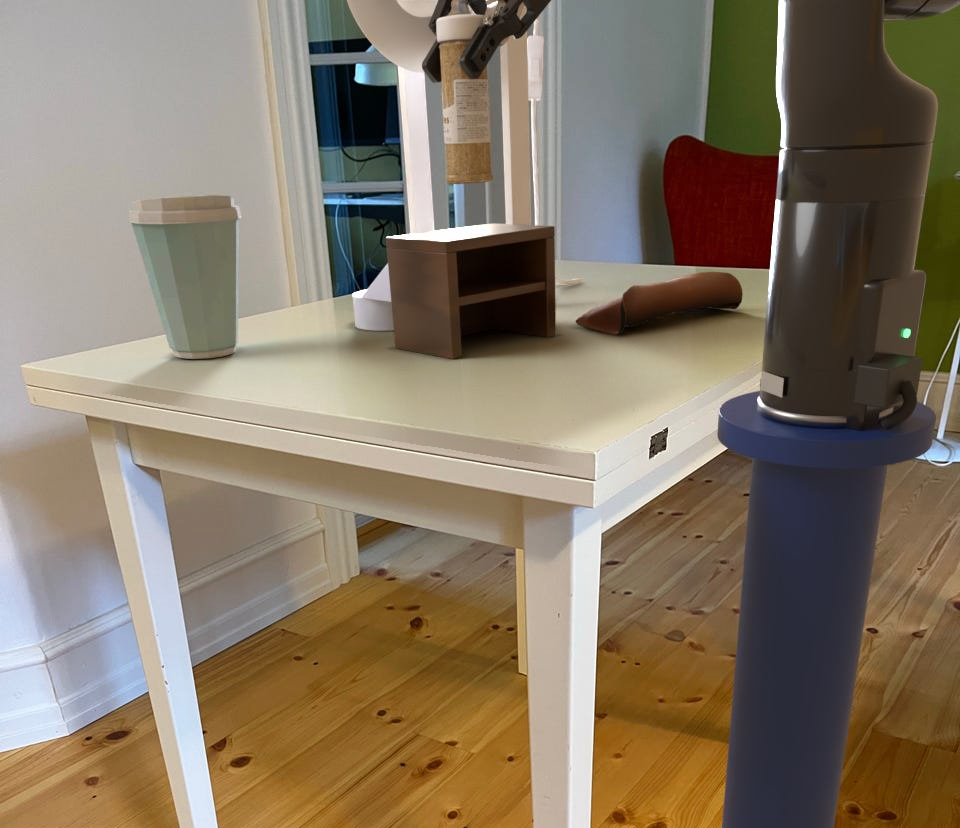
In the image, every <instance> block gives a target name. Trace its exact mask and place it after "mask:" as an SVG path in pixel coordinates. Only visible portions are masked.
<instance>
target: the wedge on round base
mask: <svg viewBox="0 0 960 828" xmlns="http://www.w3.org/2000/svg"><path fill="white" fill-rule="evenodd" d="M352 305H353V315H354V326H355V328H357V329H359V330H365V331H377V332H382V331H384V332H385V331H387V332H388V331H394V328H393V316H392V305H391V293H390V281H389V269H388V262H387V263H386V265H384V266H383V268H382V270H381V271H380V272H379V273H378V275H377V276H376V277H375V278H374V280H373V281H372V282H371V284H370V285H369V286H368V287H367V289H361V290H359V291H355V292H353V293H352Z"/></svg>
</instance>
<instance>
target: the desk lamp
mask: <svg viewBox="0 0 960 828" xmlns="http://www.w3.org/2000/svg"><path fill="white" fill-rule="evenodd" d="M346 2H347V5H348V7H349V11H350V12H351V15H352V17H353V19H354V20H355V22H356V24H357V25H358V28H359V29H360V30H361V32H362V34H363V35H364V36H365V38H366V39H367V40H368V41H369V43H370V44H371V45H372V46H373V47H374V48H375V49H376V50H377V51H378V52H379V53H380V54H381V55H382V56H383V57H385V59H387V60H388V61H390V62H391V63H392V64H394V65H396V66H397V74H398V75H397V76H398V87H399V89H398V90H399V101H400V103H399V104H400V113H401V114H400V115H401V128H402V129H401V130H402V140H403V141H402V142H403V143H402V144H403V154H404V168H405V180H406V181H405V182H406V195H407V208H408V209H407V210H408V221H409V222H408V223H409V234H415V233H423V232H431V231H436V230H435V217H434V215H435V214H434V201H433V199H434V198H433V186H432V185H433V184H432V171H431V154H430V153H431V152H430V138H429V124H428V123H429V121H428V109H427V107H428V106H427V93H426V91H427V90H426V78H425V77H426V73H425V72H424V71H423V69H422V62H423V61H424V59H425V57H426V56H427V54H428V52H429V51H430V49H431V47H432V46H433V44H434V42H435V41H436V39H437V38H436V36H435V35H434V33H433V32H432V31H431V29H430V28H429V26H428V25H429V22H430V20H431V17H432V15H433V12H434V10H435V7H436V5H437V2H438V0H346ZM468 7H469V10H468V11H469V12H470V14H475V13H474V12H473V10H472V9H471V7H470V6H469V4H468ZM526 12H527V8H526V6H524V7H523V10H522V13H521V16H520V20H521V19H522V18H523V16H524V15H525V14H526ZM539 31H540V15H539V16H538V17H537V19H536V20H535V21H534V22H533V33H532V35H528V30H527V31H526V33H525V34H524V35H523V36H522V37H521V38H519V39H515V38H514V36H513V35H511V36H509V39H508V41H507V42H506V43H505V44H504V45H503V46H501V47H499V61H500V62H499V63H500V91H501V94H500V95H501V118H502V119H501V120H502V123H501V124H502V145H503V146H502V149H503V152H502V153H503V178H504V179H503V180H504V183H503V184H504V206H505V207H504V210H505V224H518V225H532V195H531V193H532V192H531V189H532V187H531V157H532V177H533V179H532V180H533V198H534V199H533V200H534V201H533V202H534V225H540V226H541V216H540V185H539V183H540V182H539V163H538V162H539V160H538V138H537V136H538V135H537V134H538V133H537V130H538V129H537V102H539V101H541V100H542V97H543V96H542V95H543V79H544V78H543V77H544V54H545V53H544V51H545V37H544V36H543V35H539ZM529 103H530V104H529ZM529 105H530V106H529ZM530 123H531V145H530ZM581 281H582V280H581V277H577V278H573V279H572V278H571V279H561V278H557V277H555V284H557V285H560V286H561V285H563V286H570V285H575V284H580V283H581Z"/></svg>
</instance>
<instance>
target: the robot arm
mask: <svg viewBox="0 0 960 828" xmlns="http://www.w3.org/2000/svg"><path fill="white" fill-rule="evenodd" d="M551 2H552V0H438V2H437V5H436V7H435V10H434V12H433V15H432V17H431V20H430V22H429V25H428V26H429V28H430V29H431V31H432V32H433V33H434V35H435V36H436V38H437V30H436V21H437V19H438V18H441V17H445V16H451V15H463V14H470V12H469V11H468V10H469V7H468V4H469V6H470V7H471V9H472V10H473V12H474V13H475V14H476V15H484V18H483V21H482V23H483V25H484V26H485V27H484V26H482V27H478V28H477V30H476V32H475V33H474V35H473V37H472V38H471V40H470V42H469V43H468V45H467V47H466V48H465V50H464V52H463V53H462V55H461V57H460V59H459V63H460V66H461V67H462V69H463V70H464V72H465V73H466V75H467V76H468V77H469V78H470V79H478V78H479V77H480V75H481V74H482V72H483V70H484V69H485V67H486V66H487V67H488V64H489V62H490V60H492V57H493V55H494V54H495V52H496V50H497V49H498V47H499V48H500V47H501V46H503V45H504V44H505V43H506V42H507V41H508V39H509V36H511V35H513V36H514V38H515V39H519V38H521V37H522V36H523V35H524V34H525V33H526V31H527V32H528V30H529V29H530V28H531V27H532V25H534V21H535V20H536V19H537V17H538V16H539V17H540V15H541V14H542V12H543V11H544V10H545V9H546V7H547V6H548V5H549V4H550V3H551ZM959 5H960V0H778V13H777V15H778V16H777V19H778V20H777V47H776V66H775V67H776V69H775V71H776V72H775V93H776V101H777V107H778V112H779V117H780V123H781V126H780V127H781V129H780V130H781V132H780V149H779V156H778V168H777V169H778V170H777V181H776V191H775V205H774V217H773V227H772V239H771V253H770V262H769V263H770V264H769V275H768V287H767V288H768V289H767V298H766V299H767V300H766V311H765V322H764V323H765V324H764V335H763V346H762V363H761V373H760V375H761V376H760V381H759V387H760V388H759V391H760V395H759V396H758V402H757V411H758V413H759V414H760V415H762V416H763V417H765V418H767V419H770V420H772V421H776V422H779V423H783V424H788V425H793V426H800V427H809V428H824V429H851V430H856V431H864V430H866V429H869V428H871V427H873V426H876V425H878V424H881V425H882V426H883V427H884V428H885V429H887V430H890V429H891V428H893V427H894V426H896V425H898V424H900V423H902V422H903V421H905V420H906V419H908V418H909V417H910V416H911V414H912V413H913V411H914V410H915V407H916V404H917V402H918V391H919V385H920V378H921V374H922V373H921V372H922V367H923V359H924V358H923V357H921V356H915V354H916V353H915V352H916V347H917V339H918V334H919V326H920V321H921V314H922V308H923V301H924V294H925V288H926V287H925V286H926V281H927V273H926V272H925V271H924V270H921V269H915V266H916V259H917V252H918V245H919V239H920V234H921V233H920V232H921V225H922V218H923V212H924V205H925V200H926V199H925V197H926V192H927V184H928V179H929V172H930V165H931V159H932V150H933V145H934V143H933V141H934V138H935V132H936V125H937V120H938V119H937V118H938V111H939V104H938V103H939V101H938V97H937V95H936V94H935V92H934V91H933V90H932V89H931V88H929V87H927V86H925V85H923V84H922V83H920V82H918V81H916V80H914V79H912V78H911V77H909V76H908V75H906V74H905V73H904V72H903V71H901V69H899V68H898V67H897V66H896V64H895V63H894V61H893V60H892V58H891V56H890V55H889V53H888V52H887V49H886V43H885V22H886V21H893V22H895V21H912V20H918V19H926V18H930V17H931V18H932V17H934V16H939V15H942V14H945V13H946V12H949V11H951V10H952V9H955V8H956V7H957V6H959ZM524 6H526V8H527V12H526V14H525V15H524V16H523V18H522V19H521V20H520V16H521V13H522V10H523V7H524ZM439 46H440V43H439V42H438V41H437V39H436V41H435V42H434V44H433V46H432V47H431V49H430V51H429V52H428V54H427V56H426V57H425V59H424V61H423V62H422V69H423V71H424V72H425V73H424V74H425V76H427V78H428V79H429V80H430V82H431V83H432V84H438V83H442V82H441V80H442V78H441V60H440V48H439Z"/></svg>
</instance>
